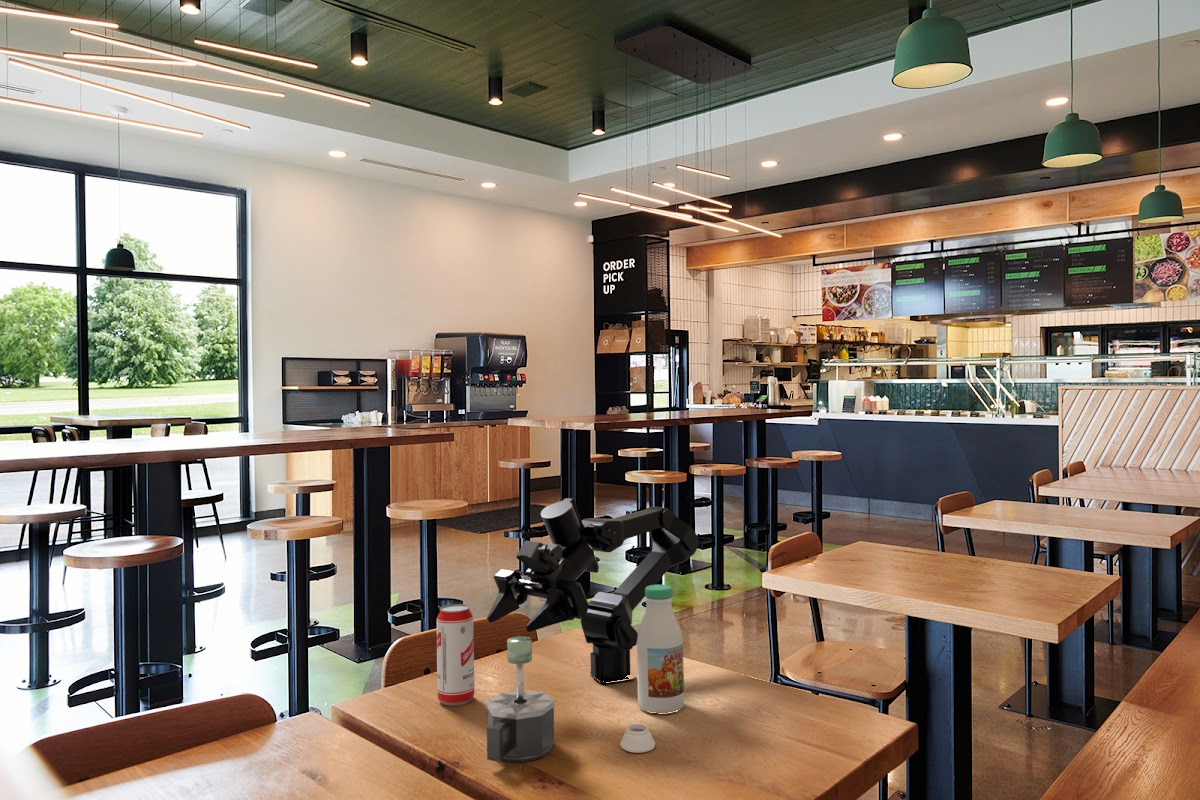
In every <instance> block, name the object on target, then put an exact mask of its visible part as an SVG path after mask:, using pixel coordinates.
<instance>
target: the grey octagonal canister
mask: <svg viewBox="0 0 1200 800" xmlns="http://www.w3.org/2000/svg"><path fill="white" fill-rule="evenodd" d="M554 707H555V700H554V699H553V698H552V697H551V696H550V695H549V694H548V692H544V691H538V690H530V689H524V703H522V704H517V690H513V691H507V692H500V693H498V694H497V695H495V696H493V697H491V698H490V699H489V700H487V701H486V708H487V726H486V756H487V757H486V759H487V760H488V761H493V762H498V763H500V762H506V763H512V764H513V763H516V764H517V763H528V762H533V761H537V760H540V759H542V758H544V757H547V756H548V755H549V754H550V753H551V752H552V749H553V745H554V744H555V710H554V709H555V708H554Z"/></svg>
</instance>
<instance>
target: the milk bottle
mask: <svg viewBox="0 0 1200 800" xmlns="http://www.w3.org/2000/svg"><path fill="white" fill-rule="evenodd" d="M673 590H674V589H673V587H672V586H670V585H667V584H655V585H650V586H647V587H646V588H645V599H644V600H645V602H646V605H645V606H646V607H645V612H644V613H643V614H644V615H643V617H642V619H641V622H640V624H639V627H638V631H637V633H638V637H637V644H636V669H637V670H636V672H637V675H636V676H637V679H636V680H637V706H638V708H639V709H640V708H641V709H643V710H645V711H649V712H656V713H668V712H673V711H676V710H679V709H681V708H682V707H683V708H684V705H685V675H684V673H685V672H684V671H685V670H684V646H683V645H684V644H683V643H684V642H683V641H684V640H683V635H682V634H683V633H682V629H681V626H680V624H679V622H678V620H677V618H676V615H675V613H674V609H673V606H672V605H673V604H672V602H673V594H674V591H673ZM683 708H682V709H683ZM641 709H640V710H641ZM682 709H681V710H682ZM643 710H642V711H643ZM645 711H644V712H645Z"/></svg>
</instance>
